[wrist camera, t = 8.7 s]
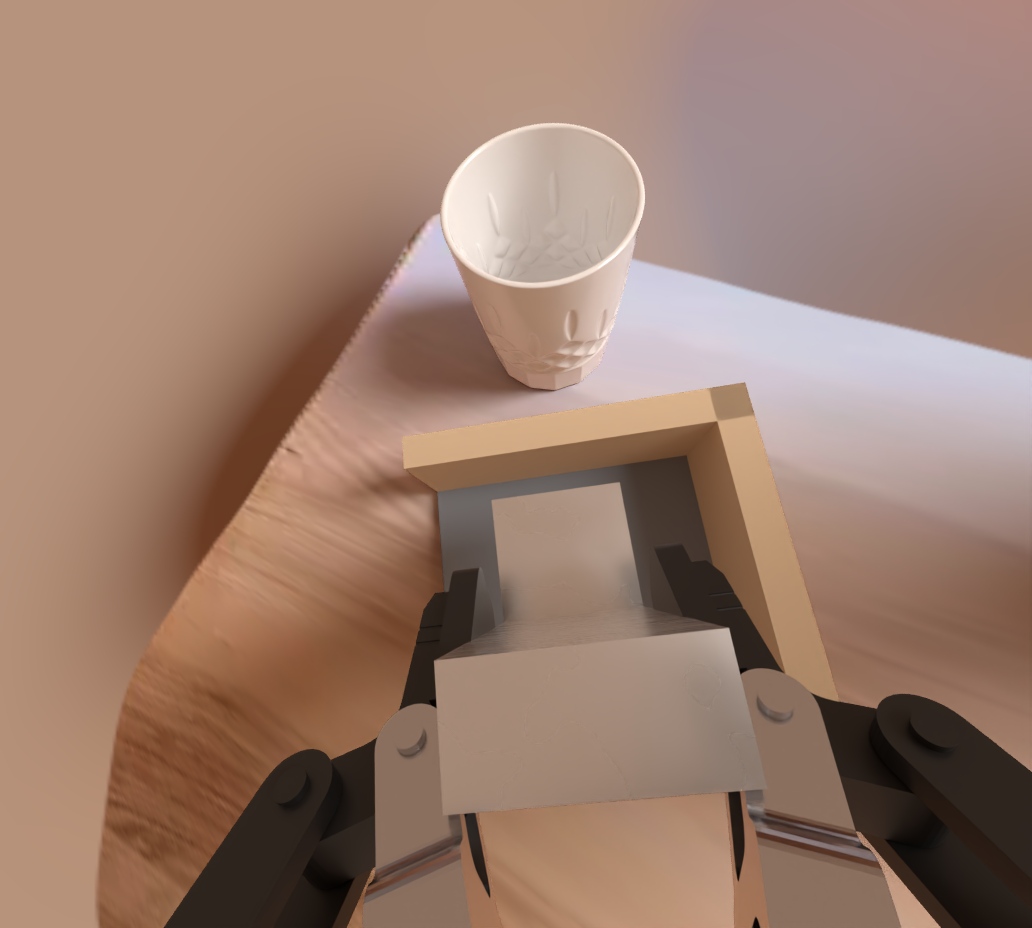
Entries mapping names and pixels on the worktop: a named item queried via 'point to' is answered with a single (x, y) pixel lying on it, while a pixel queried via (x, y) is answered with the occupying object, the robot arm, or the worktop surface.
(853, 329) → the worktop surface
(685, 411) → the corner tray
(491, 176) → the white cup
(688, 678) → the bracket
